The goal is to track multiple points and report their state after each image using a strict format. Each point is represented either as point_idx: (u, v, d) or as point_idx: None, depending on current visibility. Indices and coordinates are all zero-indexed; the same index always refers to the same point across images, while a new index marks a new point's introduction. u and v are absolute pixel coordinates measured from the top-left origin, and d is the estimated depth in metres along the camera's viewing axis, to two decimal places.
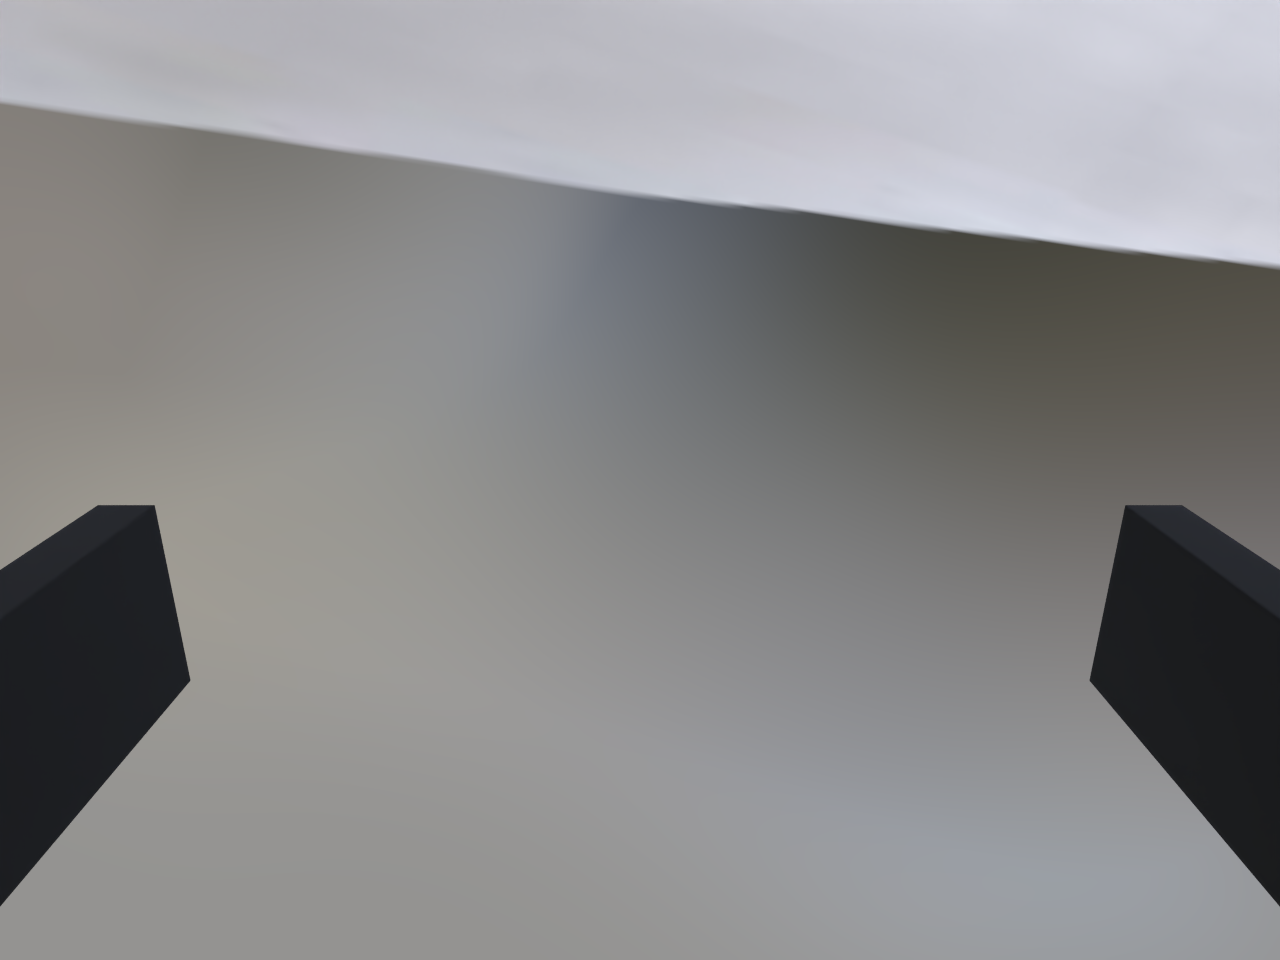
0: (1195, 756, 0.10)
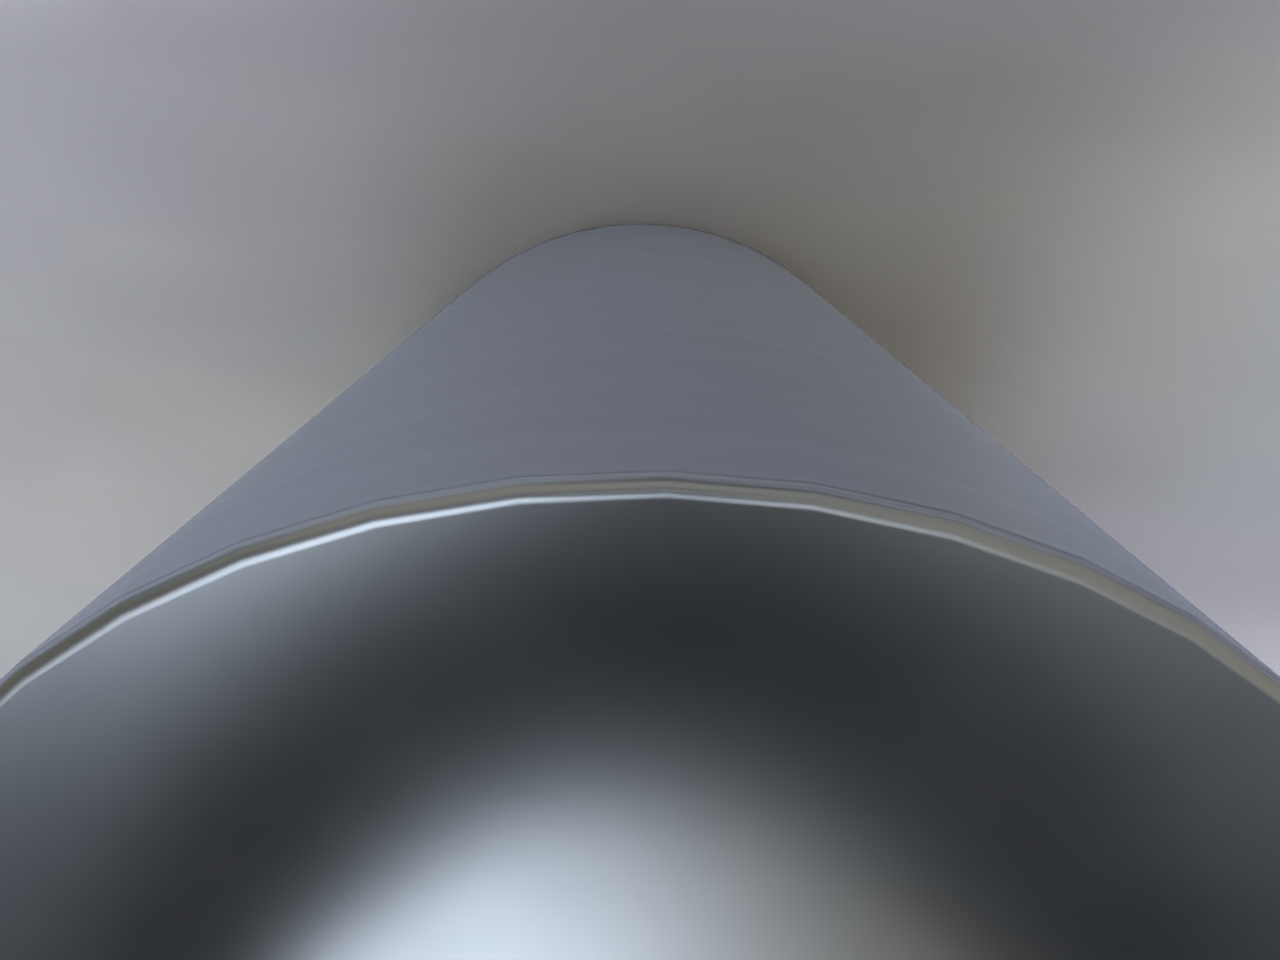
0: None
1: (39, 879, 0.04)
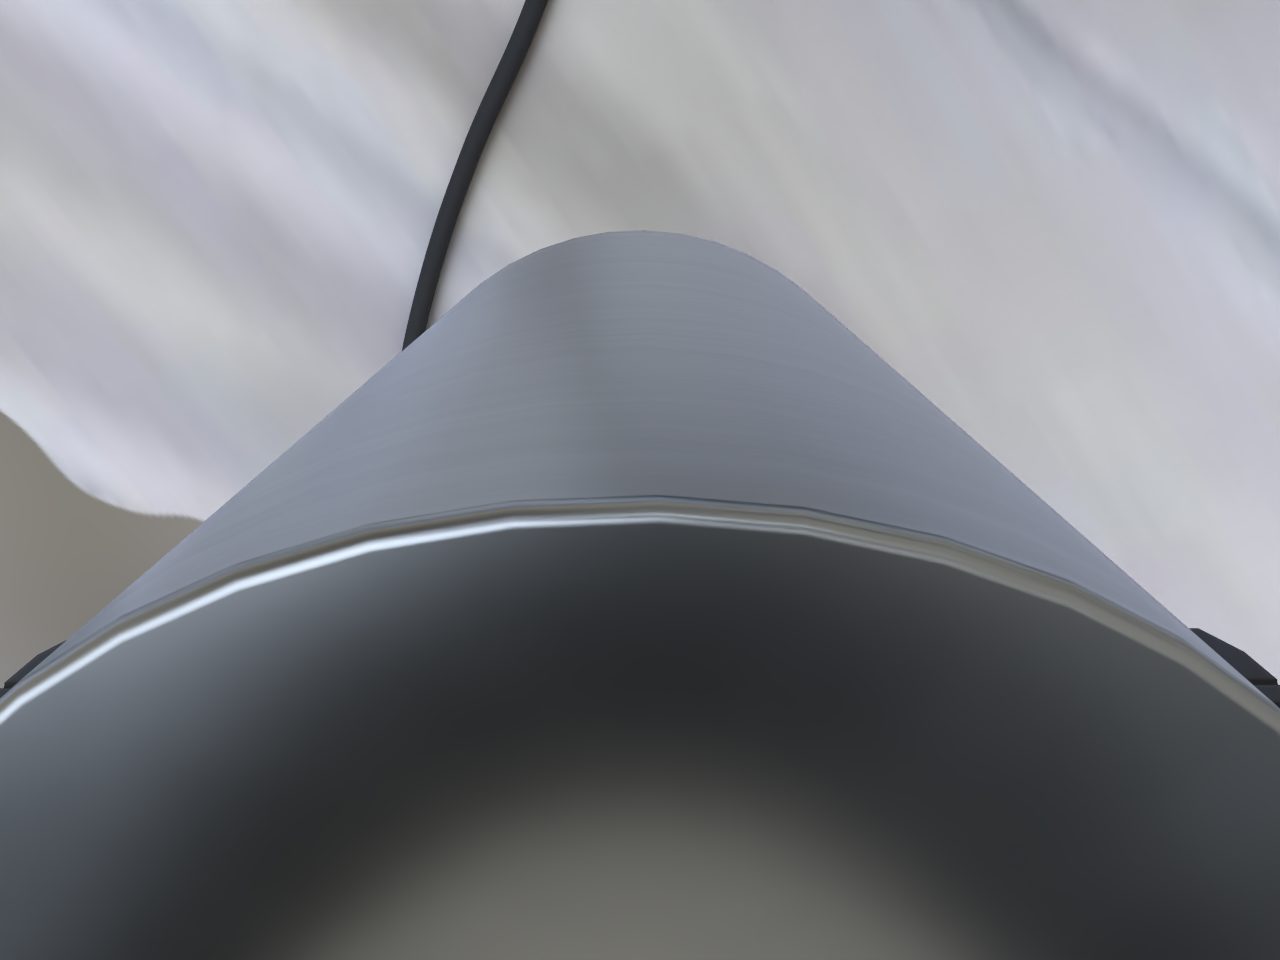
0: None
1: (35, 896, 0.04)
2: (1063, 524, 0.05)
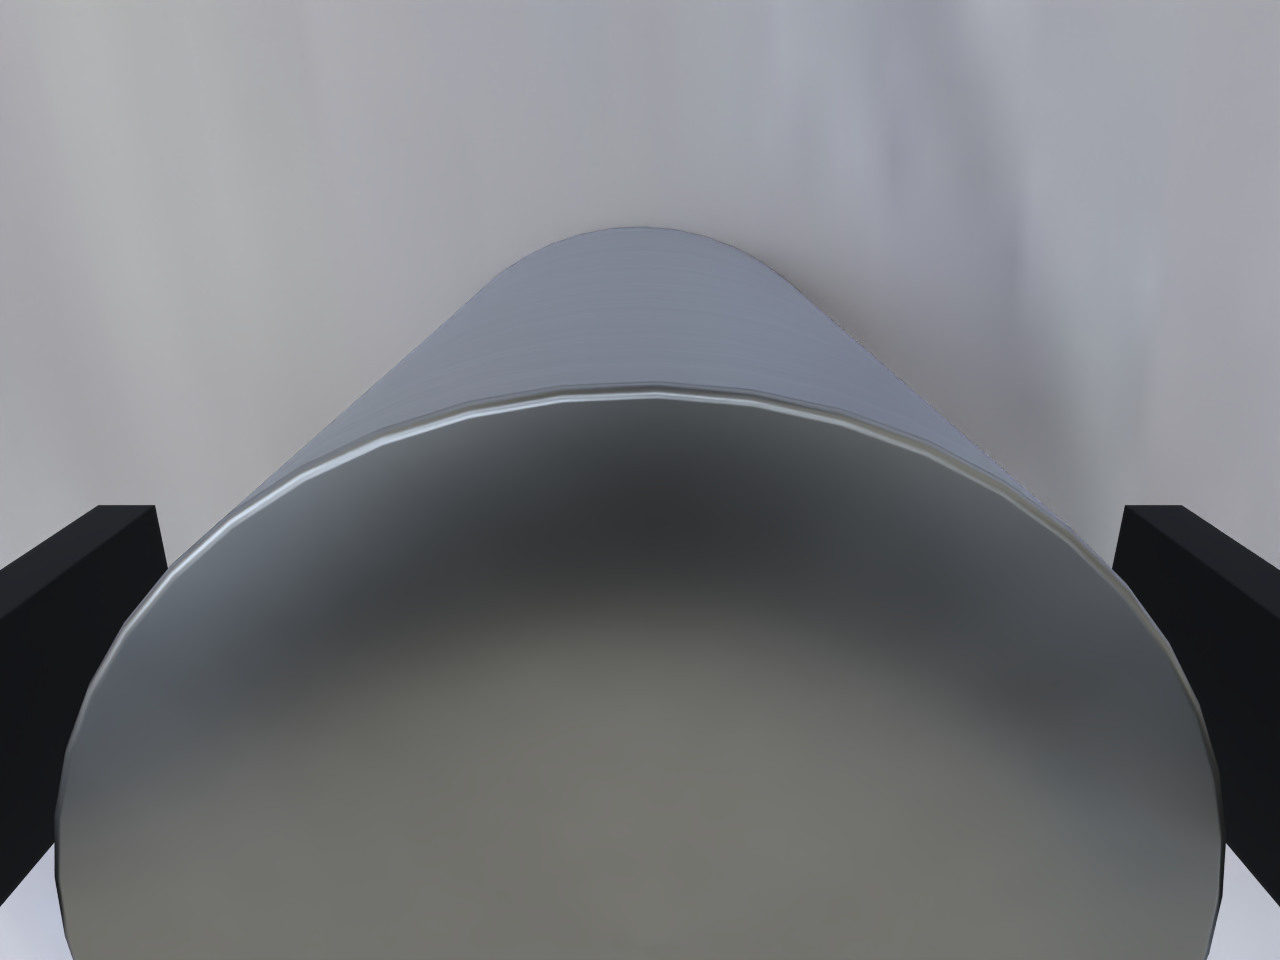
0: None
1: (232, 668, 0.06)
2: (954, 430, 0.07)
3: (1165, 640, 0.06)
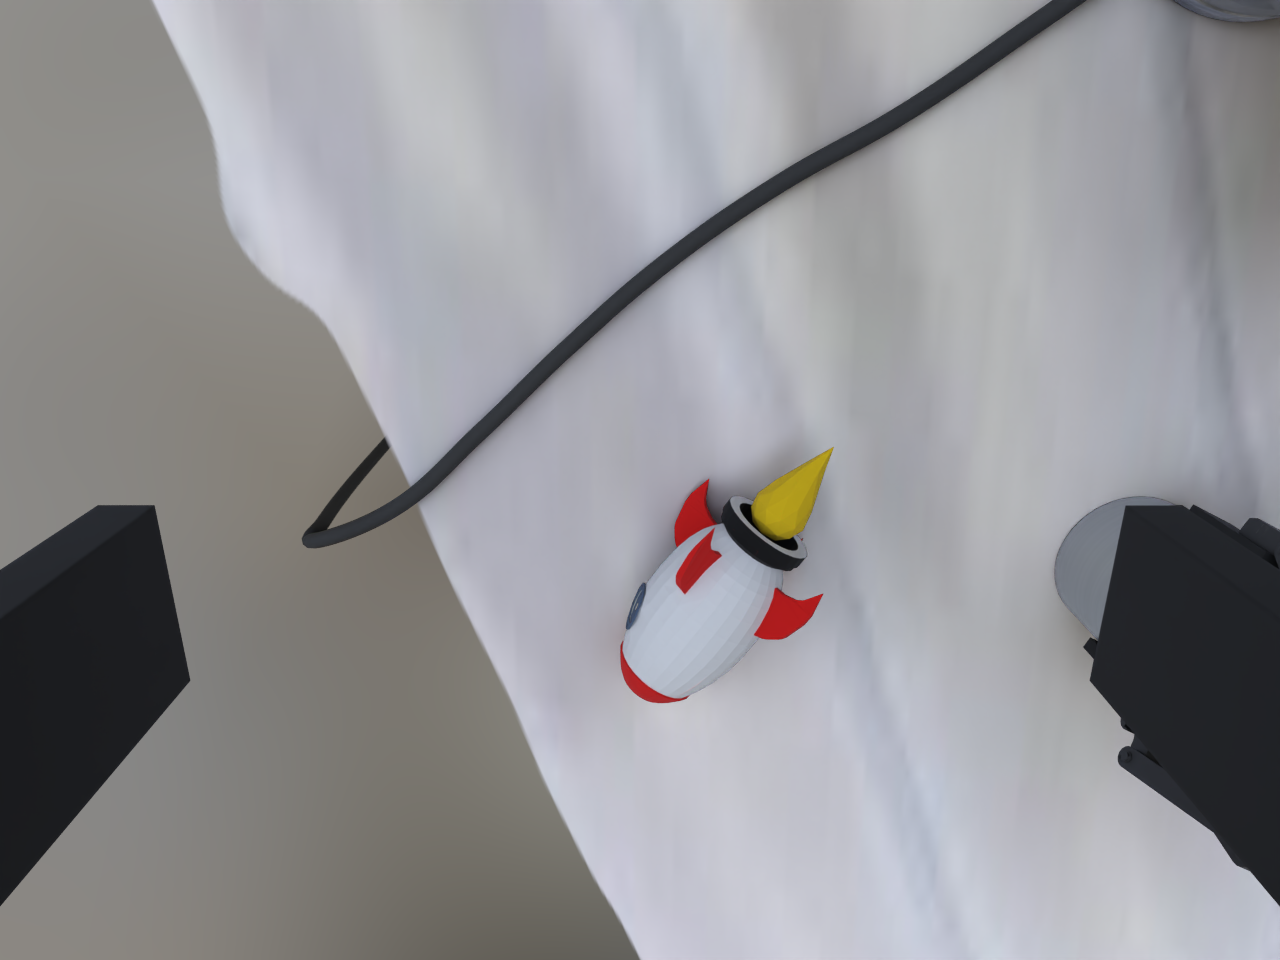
0: (1195, 756, 0.10)
1: None
2: None
3: None
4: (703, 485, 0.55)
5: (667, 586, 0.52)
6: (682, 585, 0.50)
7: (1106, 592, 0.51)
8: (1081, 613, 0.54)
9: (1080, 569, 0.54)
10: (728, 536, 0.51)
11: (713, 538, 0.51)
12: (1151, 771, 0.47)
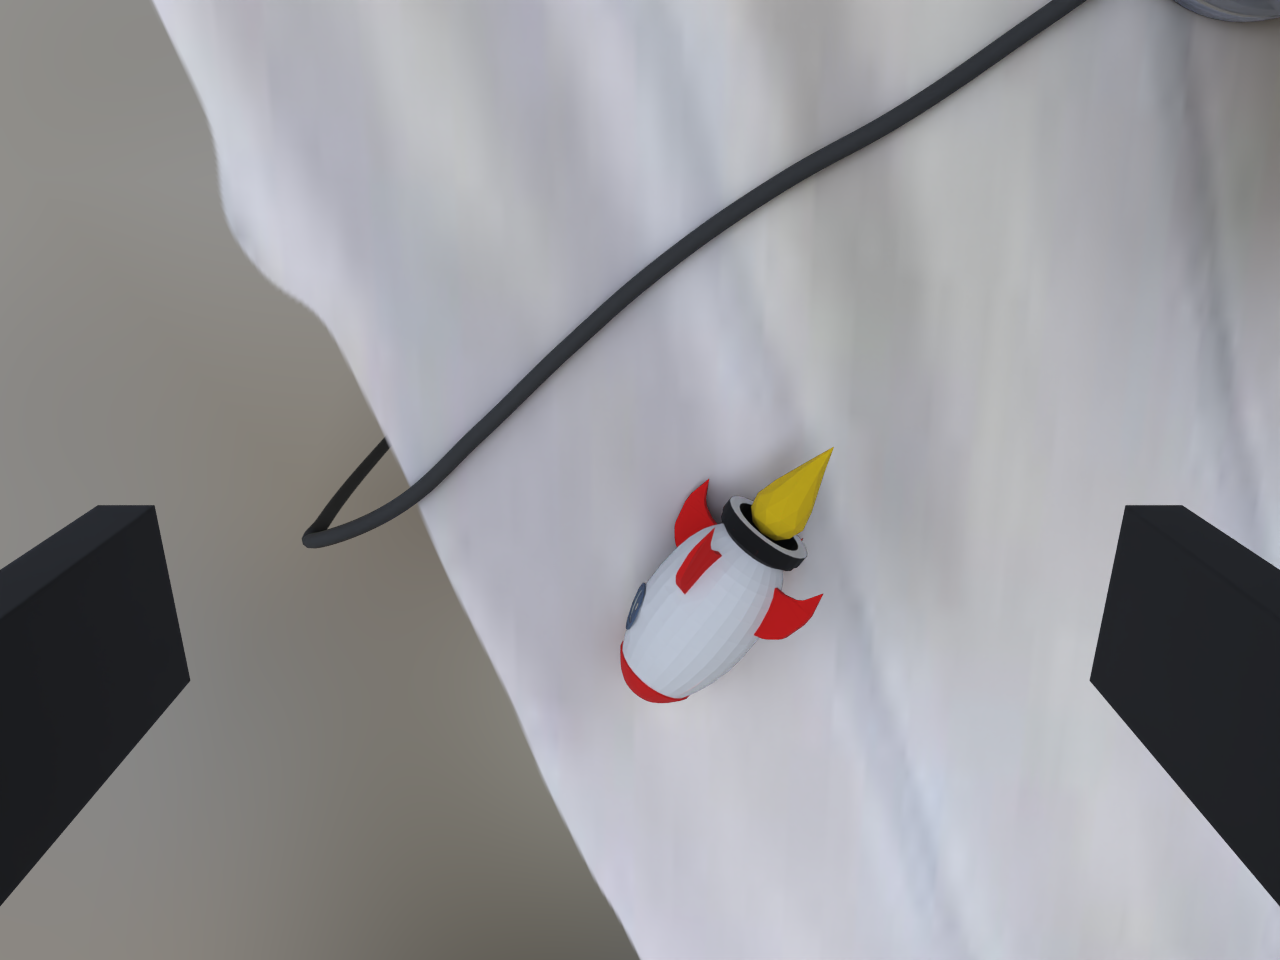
0: (1195, 756, 0.10)
1: None
2: None
3: None
4: (703, 485, 0.55)
5: (667, 586, 0.52)
6: (682, 585, 0.50)
7: None
8: None
9: None
10: (728, 536, 0.51)
11: (713, 538, 0.51)
12: None
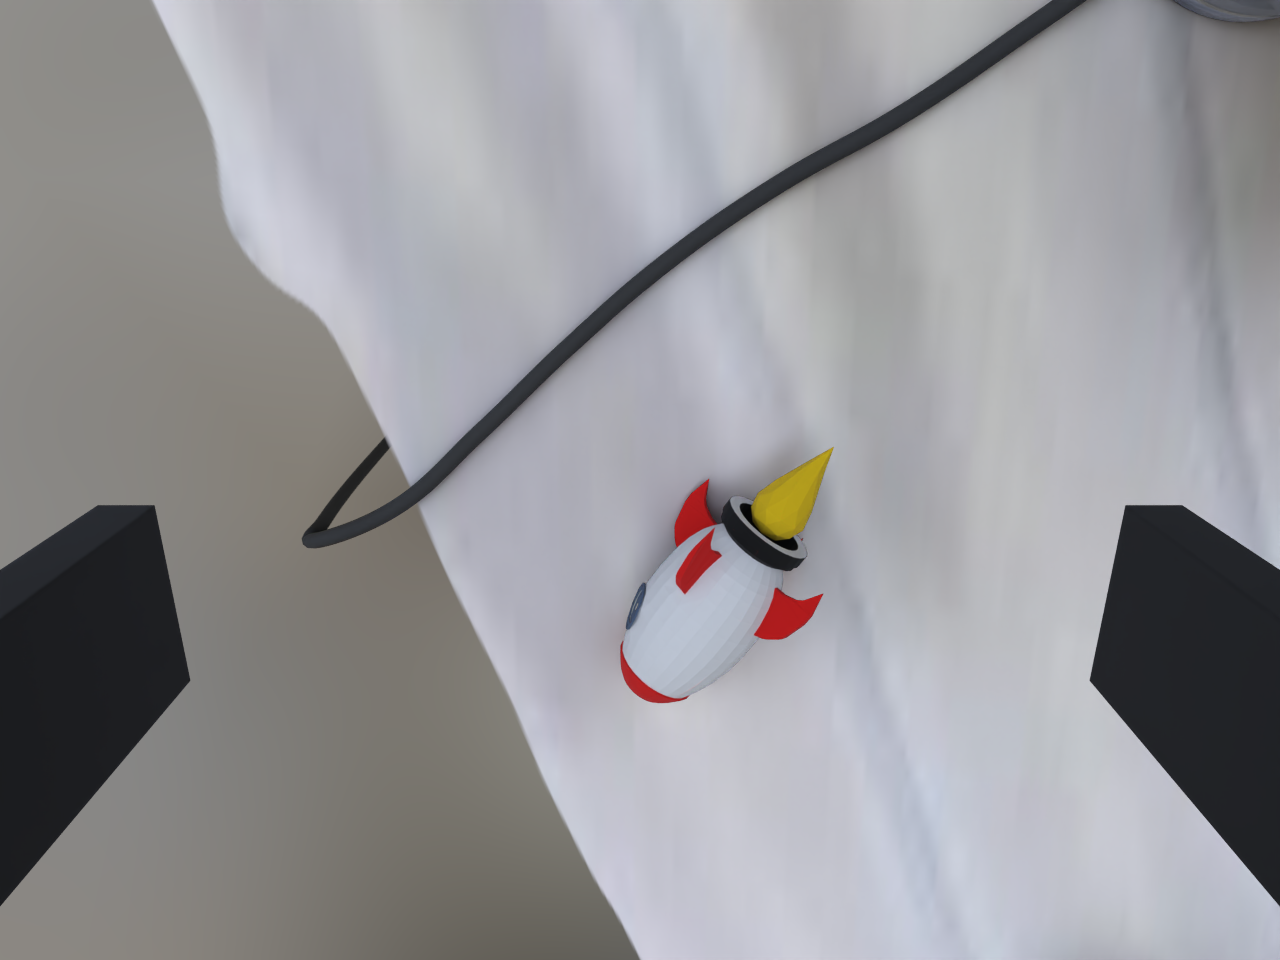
0: (1195, 756, 0.10)
1: None
2: None
3: None
4: (703, 485, 0.55)
5: (667, 586, 0.52)
6: (682, 585, 0.50)
7: None
8: None
9: None
10: (728, 536, 0.51)
11: (713, 538, 0.51)
12: None
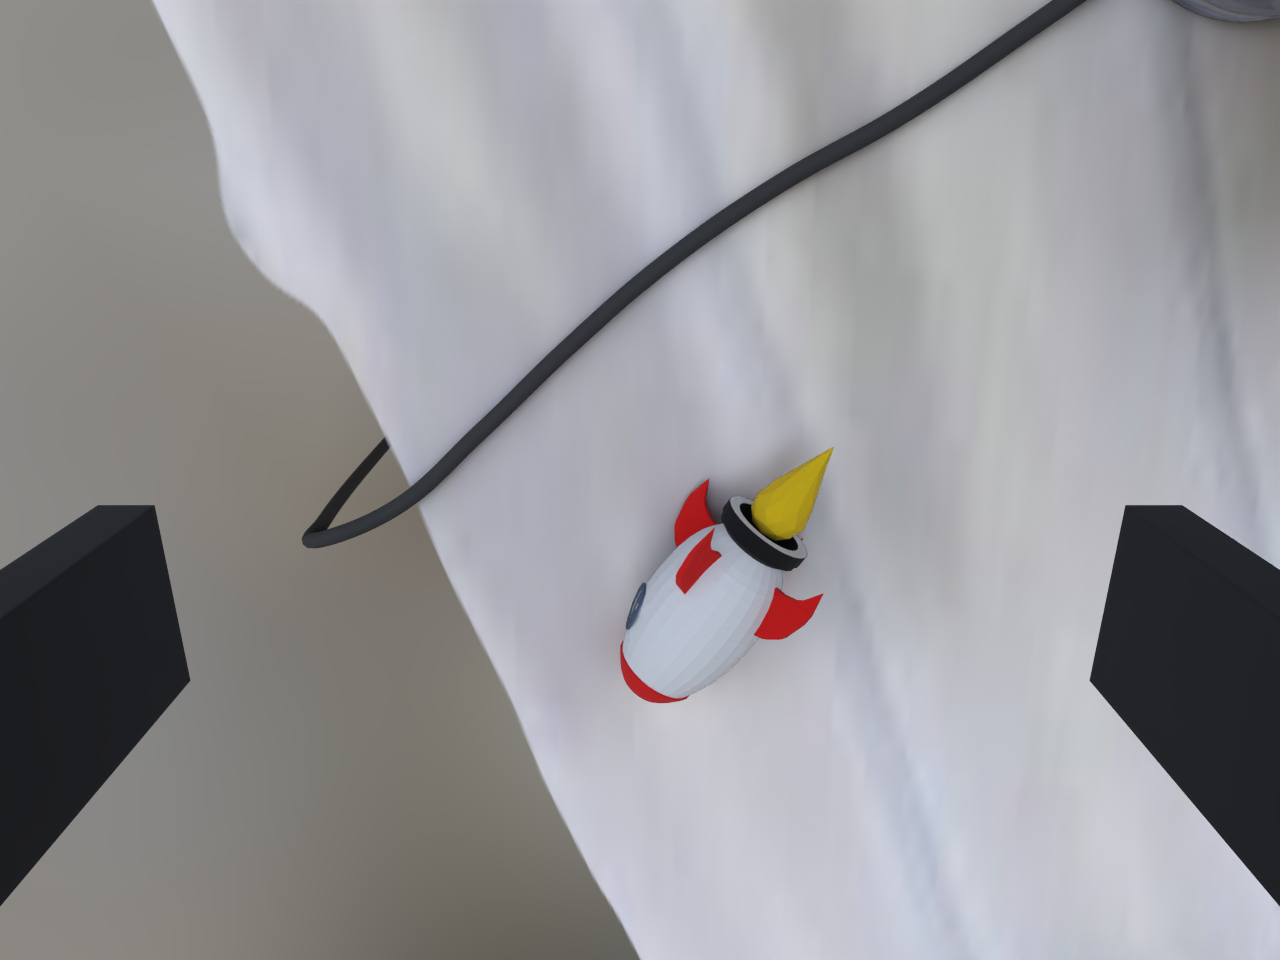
0: (1195, 756, 0.10)
1: None
2: None
3: None
4: (703, 485, 0.55)
5: (667, 586, 0.52)
6: (682, 585, 0.50)
7: None
8: None
9: None
10: (728, 536, 0.51)
11: (713, 538, 0.51)
12: None
